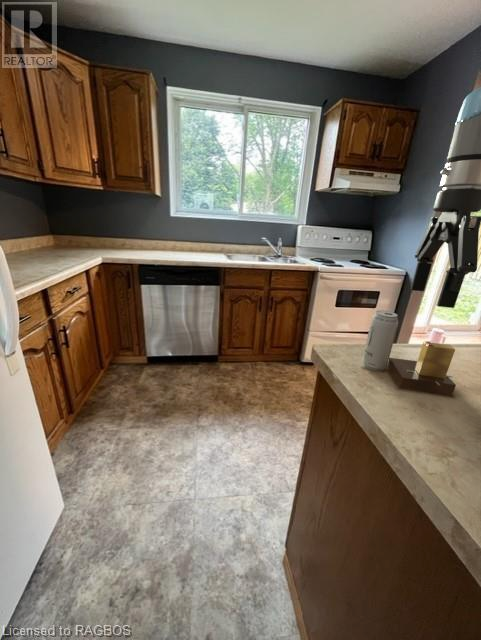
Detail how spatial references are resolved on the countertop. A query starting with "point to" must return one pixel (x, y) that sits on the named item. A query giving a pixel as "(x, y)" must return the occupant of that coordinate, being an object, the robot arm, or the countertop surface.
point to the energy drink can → (380, 340)
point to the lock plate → (418, 378)
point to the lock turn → (434, 359)
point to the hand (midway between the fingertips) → (429, 297)
